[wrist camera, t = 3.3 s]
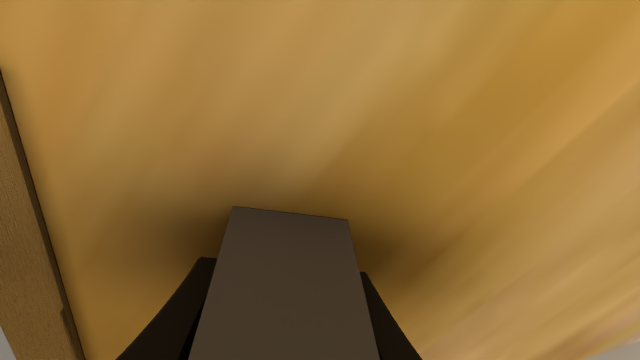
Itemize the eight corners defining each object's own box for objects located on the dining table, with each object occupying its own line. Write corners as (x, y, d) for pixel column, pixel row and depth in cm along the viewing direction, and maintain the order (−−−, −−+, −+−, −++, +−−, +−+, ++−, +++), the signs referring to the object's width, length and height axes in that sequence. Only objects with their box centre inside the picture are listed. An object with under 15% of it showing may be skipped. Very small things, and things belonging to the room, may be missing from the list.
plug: (328, 298, 13) (354, 536, 7) (221, 290, 13) (158, 545, 7) (354, 216, 11) (419, 459, 5) (227, 200, 10) (142, 460, 5)
